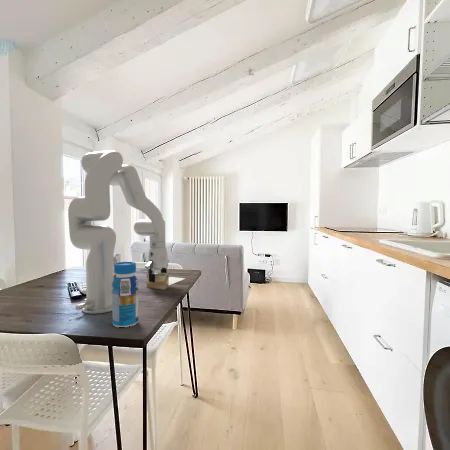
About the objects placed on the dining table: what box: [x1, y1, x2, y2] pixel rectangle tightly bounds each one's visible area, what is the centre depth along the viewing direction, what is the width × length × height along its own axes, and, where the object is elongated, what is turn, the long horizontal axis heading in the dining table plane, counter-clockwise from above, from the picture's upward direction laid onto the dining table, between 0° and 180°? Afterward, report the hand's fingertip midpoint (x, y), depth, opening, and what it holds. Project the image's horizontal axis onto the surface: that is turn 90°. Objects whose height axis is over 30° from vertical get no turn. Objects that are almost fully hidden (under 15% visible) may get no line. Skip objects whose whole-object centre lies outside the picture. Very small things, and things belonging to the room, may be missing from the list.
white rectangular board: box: [169, 276, 186, 287], centre depth 156 cm, size 16×10×1 cm, turn 158°
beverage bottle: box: [111, 261, 140, 328], centre depth 96 cm, size 8×8×20 cm
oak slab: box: [146, 271, 170, 290], centre depth 143 cm, size 4×10×7 cm, turn 67°
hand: (158, 279), depth 143 cm, fingers open, 9 cm apart
